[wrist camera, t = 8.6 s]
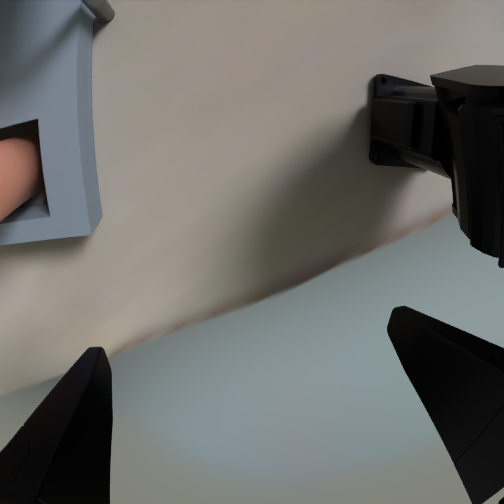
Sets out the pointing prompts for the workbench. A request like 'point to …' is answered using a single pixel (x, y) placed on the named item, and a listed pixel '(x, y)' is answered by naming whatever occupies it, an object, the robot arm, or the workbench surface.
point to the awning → (100, 9)
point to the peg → (19, 171)
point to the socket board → (51, 113)
